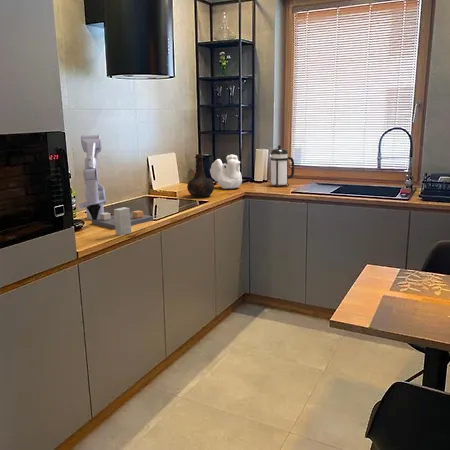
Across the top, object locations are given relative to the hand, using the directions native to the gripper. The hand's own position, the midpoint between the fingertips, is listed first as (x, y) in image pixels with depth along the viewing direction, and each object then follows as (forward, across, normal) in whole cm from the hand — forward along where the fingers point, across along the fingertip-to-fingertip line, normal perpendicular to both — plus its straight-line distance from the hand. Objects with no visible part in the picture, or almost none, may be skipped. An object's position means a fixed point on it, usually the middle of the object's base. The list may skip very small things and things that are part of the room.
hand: (94, 219), depth 231 cm
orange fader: (+1, +19, -10) cm, 22 cm away
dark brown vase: (+3, +91, +13) cm, 92 cm away
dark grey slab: (+3, +13, -5) cm, 15 cm away
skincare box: (+3, -2, -25) cm, 25 cm away
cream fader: (+1, +6, 0) cm, 6 cm away
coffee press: (+3, +157, -6) cm, 157 cm away
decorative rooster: (+3, +127, +21) cm, 129 cm away
